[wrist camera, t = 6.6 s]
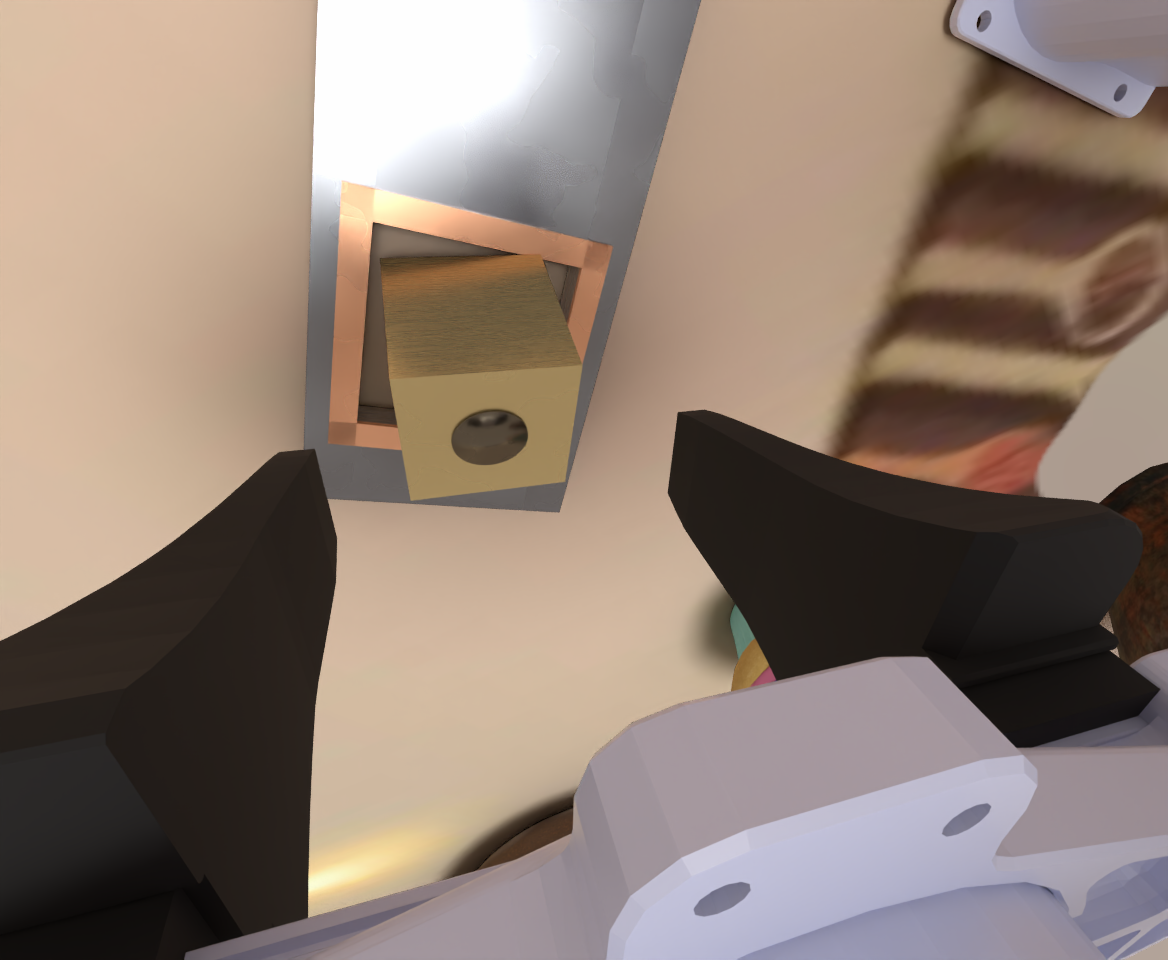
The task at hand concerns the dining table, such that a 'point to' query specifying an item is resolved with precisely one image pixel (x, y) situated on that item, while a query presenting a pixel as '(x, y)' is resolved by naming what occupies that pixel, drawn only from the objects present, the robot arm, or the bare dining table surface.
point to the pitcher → (1144, 566)
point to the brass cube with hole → (479, 372)
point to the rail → (476, 180)
